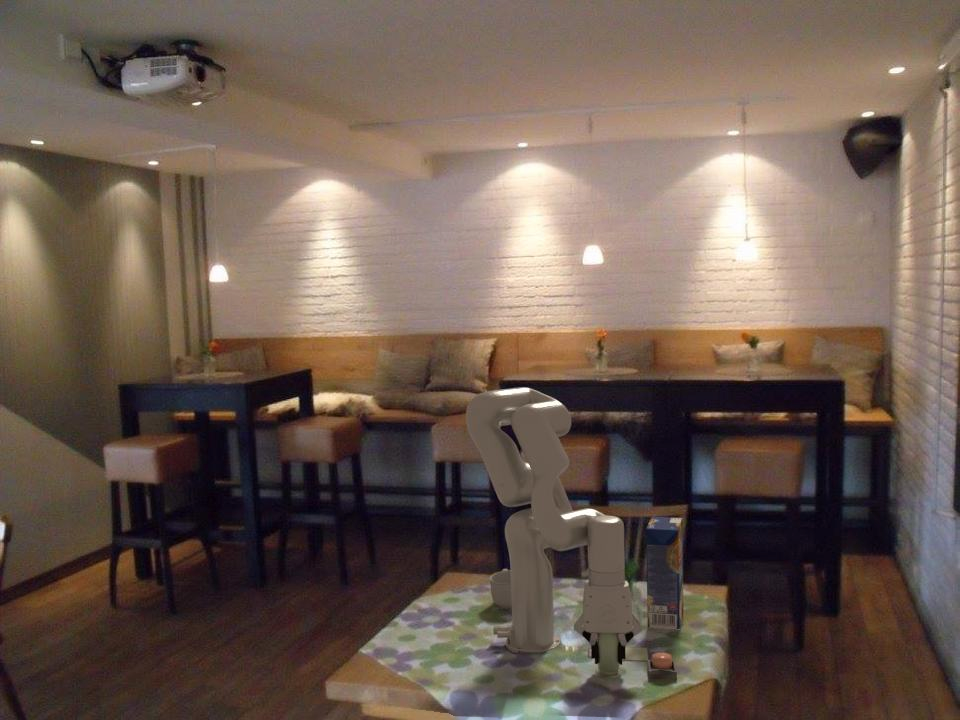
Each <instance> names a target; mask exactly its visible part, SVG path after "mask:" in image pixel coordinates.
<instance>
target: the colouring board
mask: <svg viewBox="0 0 960 720" xmlns="http://www.w3.org/2000/svg"><path fill="white" fill-rule="evenodd" d="M650 654H651V653H650V648H649V647H648V646H647V647H646V646H625V656H626V659H622V662H645V663H646V662H647V670H648V671H647V672H648V679H649V680H668V681H677V680H678V669H677V666H676V665H677V664H676V660H672V668H670V669H667V670H659V669H656V668H654V667H653V666H652V659H651V656H650ZM587 658H589V659H590V658H591V647H590V648H587ZM591 659H592V658H591ZM594 674H595V675H596V676H598V677H599V678H603V679H615V678H619V677H621V676H622V675H623V674H624V673H623V670H622V669H620V668H619V669H618V674H617V675H615V676H604V675H601V674H600V673H599V669H598V667H597V668H596V669H595V670H594Z"/></svg>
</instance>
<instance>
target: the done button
mask: <svg viewBox="0 0 960 720" xmlns="http://www.w3.org/2000/svg"><path fill="white" fill-rule="evenodd" d="M651 660H652V666H653V667H654V668H656V669H659V670H667V669H670V668H672V661H673V658H672V655H671V653H670V654H669V653H667V652H655V653H653V654H652V655H651Z"/></svg>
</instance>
